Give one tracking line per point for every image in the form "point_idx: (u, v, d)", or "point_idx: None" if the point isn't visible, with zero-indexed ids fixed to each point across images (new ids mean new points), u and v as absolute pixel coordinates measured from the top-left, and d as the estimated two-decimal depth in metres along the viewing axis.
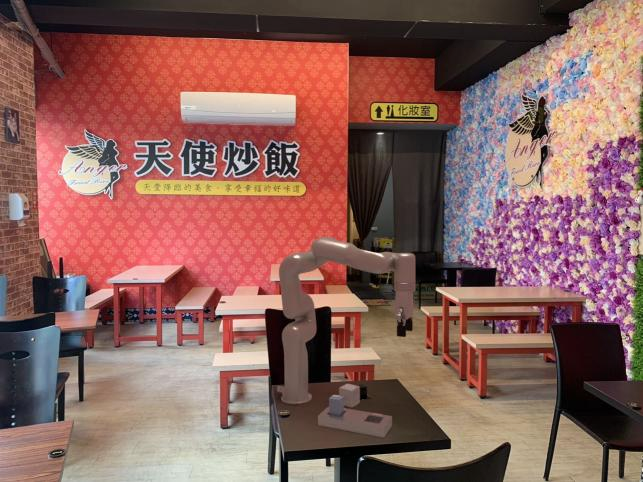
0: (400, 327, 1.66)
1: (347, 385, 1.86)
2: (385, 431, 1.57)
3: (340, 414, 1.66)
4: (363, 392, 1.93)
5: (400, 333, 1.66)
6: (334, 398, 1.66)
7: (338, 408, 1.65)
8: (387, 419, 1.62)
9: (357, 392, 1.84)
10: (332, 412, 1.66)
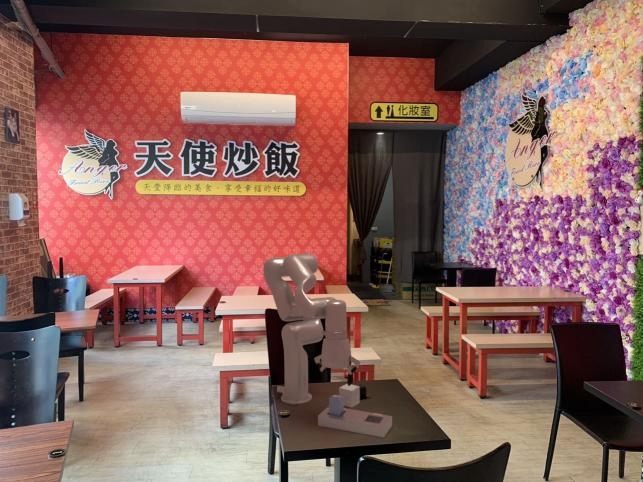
0: (352, 375, 1.64)
1: (347, 385, 1.86)
2: (385, 431, 1.57)
3: (340, 414, 1.66)
4: (363, 392, 1.93)
5: (352, 381, 1.64)
6: (334, 398, 1.66)
7: (338, 408, 1.65)
8: (387, 419, 1.62)
9: (357, 392, 1.84)
10: (332, 412, 1.66)
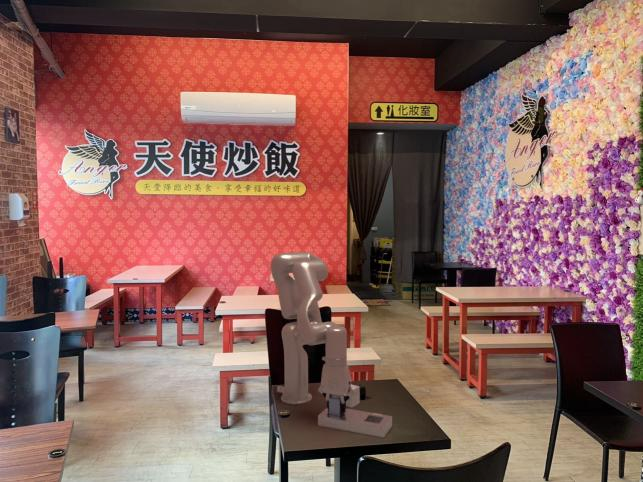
0: (344, 403, 1.66)
1: None
2: (385, 431, 1.57)
3: (340, 414, 1.66)
4: (362, 392, 1.93)
5: (344, 409, 1.66)
6: (334, 398, 1.66)
7: (338, 408, 1.65)
8: (387, 419, 1.62)
9: (357, 392, 1.84)
10: (332, 412, 1.66)
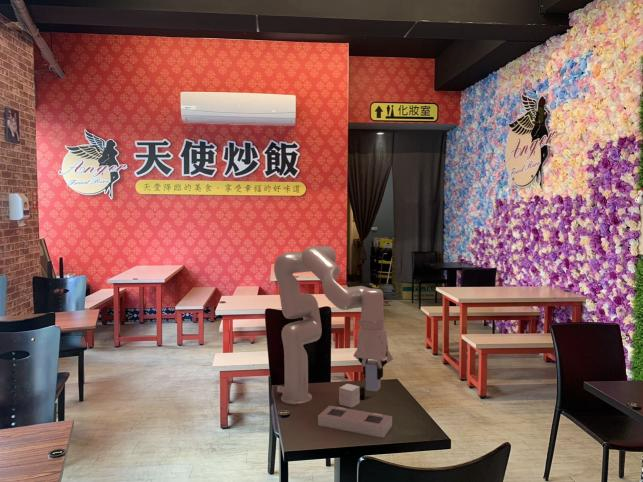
0: (382, 369, 1.60)
1: (347, 385, 1.86)
2: (385, 431, 1.57)
3: (377, 380, 1.59)
4: (362, 393, 1.93)
5: (382, 375, 1.60)
6: (371, 363, 1.60)
7: (375, 374, 1.59)
8: (387, 419, 1.62)
9: (357, 392, 1.84)
10: (369, 378, 1.60)
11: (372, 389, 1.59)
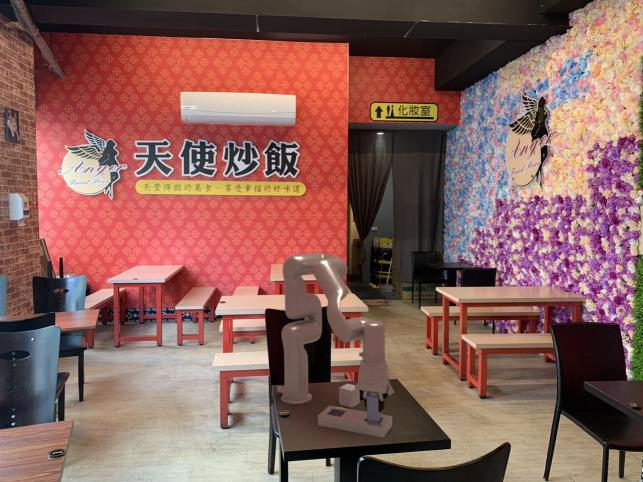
0: (383, 401, 1.60)
1: (347, 385, 1.86)
2: (385, 431, 1.57)
3: (378, 412, 1.60)
4: None
5: (383, 407, 1.60)
6: (372, 396, 1.60)
7: (376, 406, 1.59)
8: (387, 419, 1.62)
9: (357, 392, 1.84)
10: (370, 411, 1.60)
11: (373, 422, 1.60)
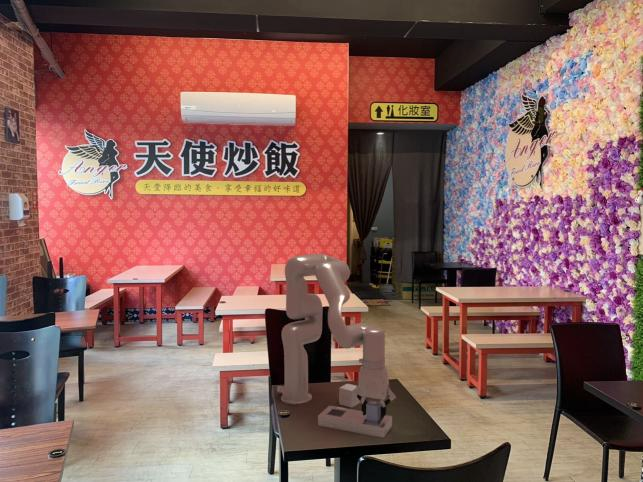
0: (385, 407, 1.60)
1: (347, 385, 1.86)
2: (385, 431, 1.57)
3: (378, 421, 1.60)
4: None
5: (385, 413, 1.60)
6: (371, 404, 1.61)
7: (376, 415, 1.59)
8: (387, 419, 1.62)
9: None
10: (369, 419, 1.60)
11: None
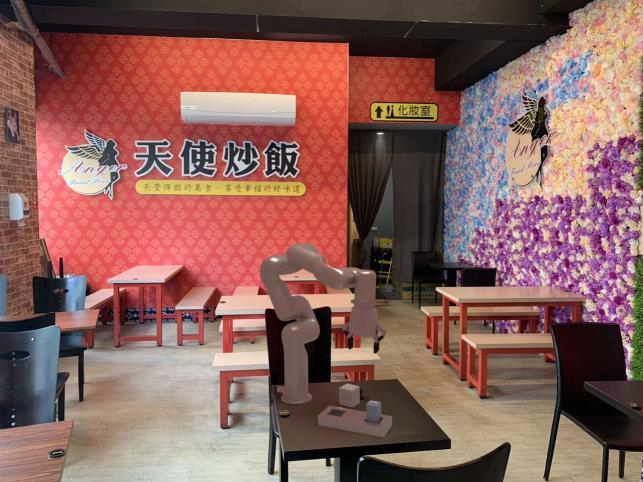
0: (378, 343, 1.68)
1: (347, 385, 1.86)
2: (385, 431, 1.57)
3: (378, 421, 1.60)
4: (362, 393, 1.92)
5: (378, 349, 1.68)
6: (371, 404, 1.61)
7: (376, 414, 1.59)
8: (387, 419, 1.62)
9: (357, 392, 1.84)
10: (369, 419, 1.60)
11: None
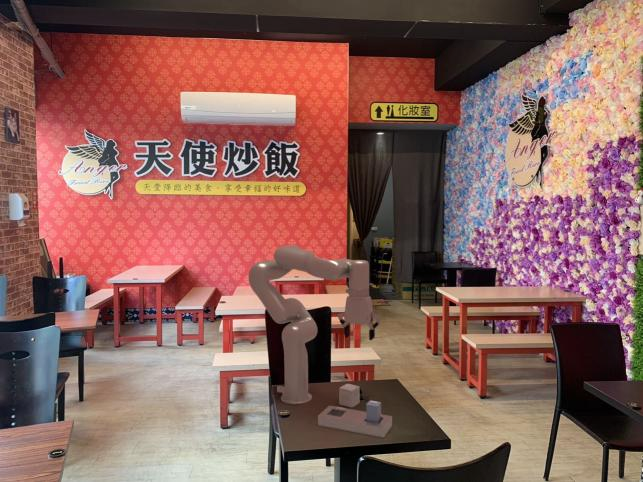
0: (373, 330, 1.74)
1: (347, 385, 1.86)
2: (385, 431, 1.57)
3: (378, 421, 1.60)
4: None
5: (373, 336, 1.74)
6: (371, 404, 1.61)
7: (376, 414, 1.59)
8: (387, 419, 1.62)
9: (357, 392, 1.84)
10: (369, 419, 1.60)
11: None
